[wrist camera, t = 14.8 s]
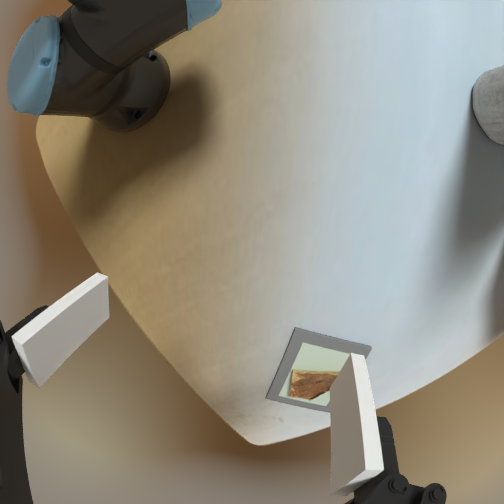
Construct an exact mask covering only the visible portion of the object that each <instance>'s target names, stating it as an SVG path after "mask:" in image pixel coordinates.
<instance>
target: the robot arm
mask: <svg viewBox="0 0 504 504" xmlns="http://www.w3.org/2000/svg"><path fill="white" fill-rule="evenodd" d="M68 1H69V2H70V3H72V4H73V5H72V6H71V7H70V8H68V9H67V10H66V11H65V12H64V13H63V14H62V15H61V16H60V17H58V18H57V17H56V16H54V15H49V16H43V17H40V18H38V19H36V20H35V21H34V22H33V23H32V24H31V25H30V26H29V27H28V28H27V29H26V31H25V32H24V34H23V35H22V37H21V38H20V40H19V42H18V44H17V46H16V48H15V51H14V53H13V56H12V59H11V62H10V66H9V70H8V76H7V95H8V100H9V103H10V105H11V106H12V108H13V109H14V110H15V111H18V112H20V113H29V114H33V115H35V116H39V115H62V116H81V117H89V118H90V119H92V120H93V121H95V122H96V123H97V124H99V125H100V126H102V127H104V128H106V129H109V130H113V131H130V130H134V129H136V128H139V127H141V126H142V125H144V124H145V123H147V122H148V121H149V120H150V119H151V118H152V117H153V116H154V115H155V114H156V113H157V112H158V110H159V109H160V107H161V106H162V104H163V102H164V100H165V98H166V96H167V93H168V90H169V85H170V71H169V67H168V64H167V62H166V60H165V59H164V57H163V56H162V55H161V54H160V53H158V52H157V51H155V50H154V49H155V48H157V47H159V46H160V45H162V44H164V43H165V42H167V41H169V40H170V39H172V38H174V37H176V36H177V35H179V34H181V33H183V32H185V31H190V30H191V29H192V27H193V26H195V25H197V24H199V23H201V22H202V21H204V20H206V19H208V18H210V17H212V16H214V15H215V14H216V13H217V12H218V11H219V9H220V7H221V3H222V2H221V0H68ZM108 318H109V300H108V277H107V276H105V275H102V274H100V273H96V274H94V275H93V276H92V277H90V278H89V279H87V280H86V281H84V282H83V283H81V284H80V285H79V286H77V287H76V288H74V289H73V290H72V291H70V292H69V293H67V294H66V295H65V296H63V297H62V298H61V299H59V300H58V301H56V302H55V303H54V304H53V305H51V306H50V307H48V306H43V307H40V308H37V309H36V310H35V311H33V312H32V313H31V314H30V315H28V316H27V317H25V319H23V320H21V321H20V322H19V323H17V324H16V325H15V326H14V327H12V328H11V329H10V330H8V331H7V332H6V333H5V332H4V329H3V326H2V323H1V321H0V504H33V500H32V496H31V491H30V486H29V480H28V474H27V468H26V461H25V452H24V441H23V426H22V425H23V424H22V384H23V379H22V376H21V375H22V374H23V373H24V372H25V373H26V376H27V378H28V380H29V381H30V382H32V383H33V384H34V385H35V386H37V387H38V388H40V387H41V385H42V384H43V383H44V382H45V381H46V380H47V379H48V378H49V377H50V376H51V375H52V374H53V373H54V372H55V371H56V370H57V369H58V367H60V365H61V364H62V363H63V362H64V361H65V360H66V359H67V358H68V357H69V356H70V355H71V354H72V353H73V352H74V351H75V350H76V349H77V348H78V347H79V346H80V345H81V344H82V343H83V342H84V341H85V340H86V339H87V338H88V337H89V336H90V335H91V334H92V333H93V332H94V331H95V330H96V329H98V328H99V327H100V326H101V325H102V324H103V323H104V322H105V321H106V320H107V319H108ZM330 413H331V491H330V492H331V493H330V495H339V496H347V495H349V494H350V493H352V492H354V498H353V499H351V500H350V501H348V502H346V503H345V504H445V501H446V491H445V489H444V487H443V486H442V485H440V484H438V483H432V484H430V485H428V486H427V487H425V488H423V487H419V486H415V485H411V484H409V483H408V480H407V479H406V478H405V477H404V476H403V475H401V474H400V473H399V469H398V462H397V456H396V450H395V445H394V439H393V433H392V428H391V425H390V424H389V422H388V420H387V419H386V418H385V417H377V416H376V412H375V406H374V400H373V395H372V390H371V385H370V380H369V375H368V370H367V366H366V361H365V357H364V355H359V354H354V353H351V354H350V355H349V357H348V359H347V360H346V362H345V364H344V366H343V367H342V369H341V371H340V372H339V374H338V376H337V377H336V379H335V380H334V382H333V384H332V385H331V387H330Z"/></svg>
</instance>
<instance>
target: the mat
mask: <svg viewBox="0 0 504 504" xmlns="http://www.w3.org/2000/svg"><path fill="white" fill-rule="evenodd" d="M371 349H372V348H371V346H368V345H364V344H360V343H355V342H351V341H347V340H343V339H339V338H335V337H331V336H327V335H323V334H319V333H315V332H311V331H308V330H304V329H300V328H297V327H295V329H294V332H293V334H292V337H291V339H290V342H289V344H288V347H287V349H286V352H285V354H284V357H283V359H282V361H281V364H280V366H279V368H278V371H277V373H276V376H275V378H274V380H273V382H272V385H271V387H270V389H269V392H268V394H267V396H266V399H270V400H274V401H278V402H282V403H286V404H290V405H295V406H299V407H304V408H309V409H314V410H319V411H324V412H330V391H328V392H326V393H324V394H322V395H320V396H319V397H317V398H315V399H312V400H311V401H310V400H308V399H303V398H292V397H289V392H290V386H291V380H292V373H293V369H297V370H306V371H336V372H337V371H341V369H342V367H343V366H344V364H345V362H346V360H347V359H348V357H349V355H350V354H351V353H354V354H359V355H364V357H365V359H366V358H367V356H368V354H369V353H370V351H371Z"/></svg>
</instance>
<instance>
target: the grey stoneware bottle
mask: <svg viewBox="0 0 504 504" xmlns="http://www.w3.org/2000/svg"><path fill="white" fill-rule="evenodd" d="M473 109H474V112H475V116H476V118H477V120H478V122H479V124H480V126H481V127H482V129H483V130H484V132H485V133H486V135H487V136H488V137H489V138H490V139H491V140H492V141H494V142H496V143H498V144H501V145H504V65H503V66H500V67H498V68H495V69H493V70H490V71H487V72H485V73H484V74H482V75H481V76H480V77H479V79H478V80H477V81H476V83H475V85H474V87H473Z"/></svg>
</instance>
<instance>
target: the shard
mask: <svg viewBox="0 0 504 504" xmlns="http://www.w3.org/2000/svg"><path fill="white" fill-rule="evenodd" d="M339 372H340V371H337V372H336V371H306V370H297V369H293V373H292V380H291V386H290V392H289V397H292V398H303V399H308V400H310V401H311V400H312V399H315V398H317V397H319V396H320V395H322V394H324V393H326V392H328V391H330V387H331V385H332V384H333V382H334V380H335V379H336V377H337V376H338V374H339Z"/></svg>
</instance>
